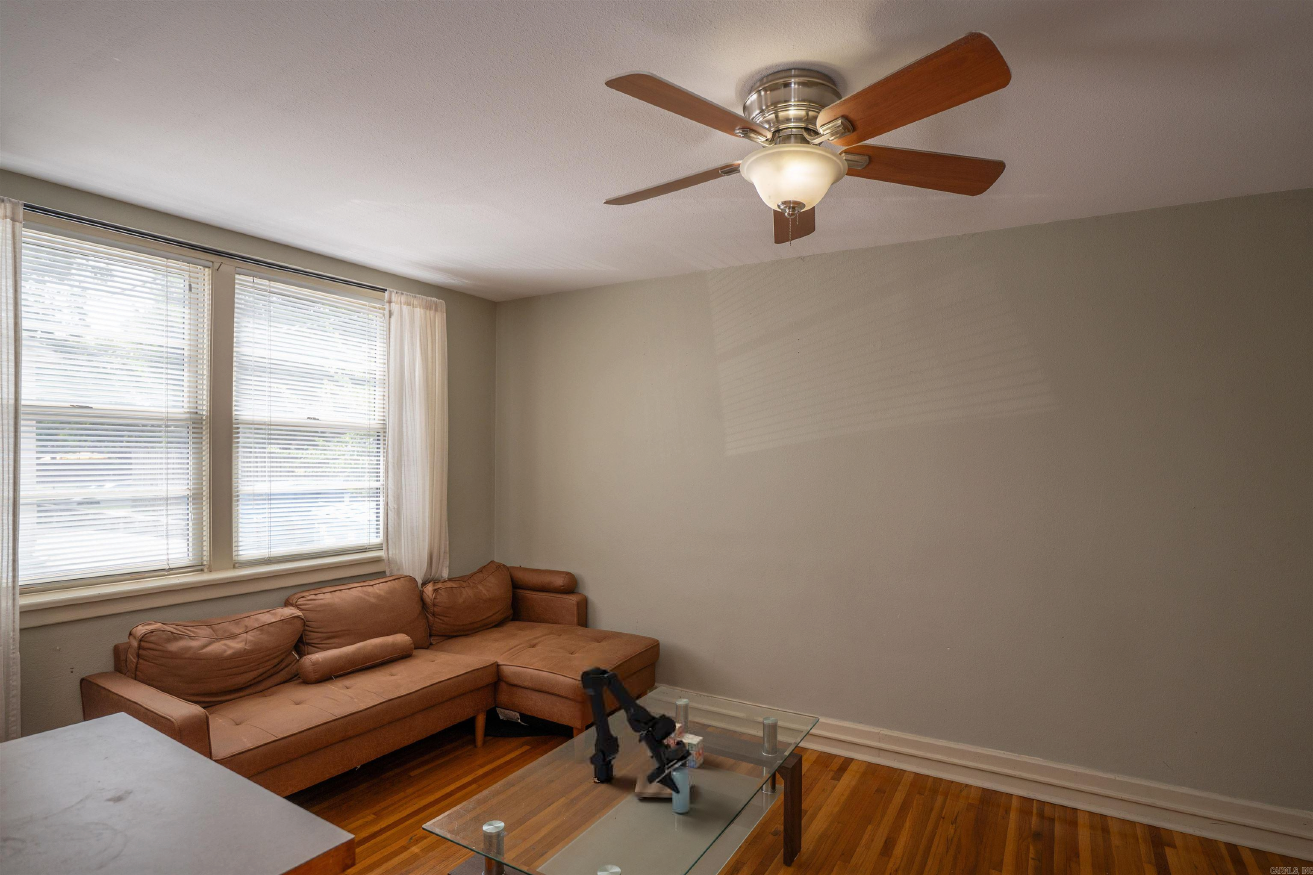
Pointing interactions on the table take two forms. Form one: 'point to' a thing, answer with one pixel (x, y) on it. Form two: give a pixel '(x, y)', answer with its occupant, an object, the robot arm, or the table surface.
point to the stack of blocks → (687, 745)
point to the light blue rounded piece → (681, 789)
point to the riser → (651, 788)
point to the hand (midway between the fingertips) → (684, 789)
